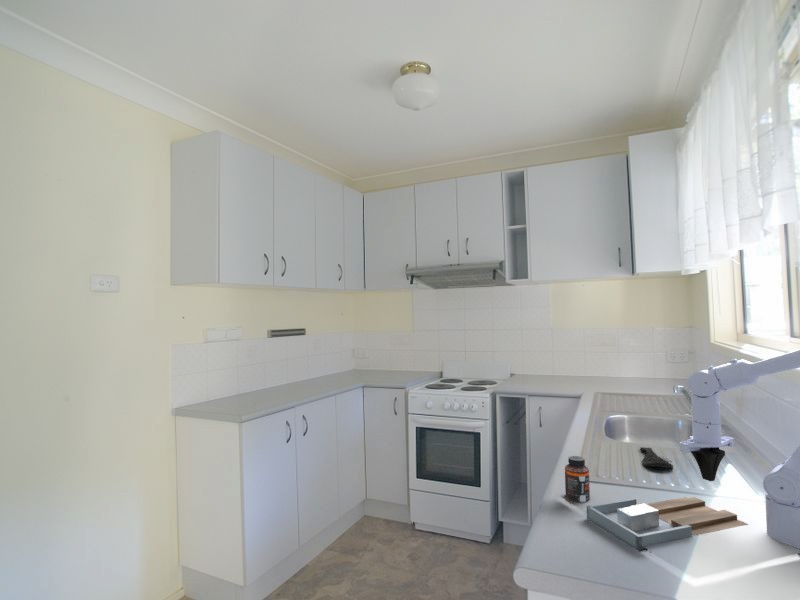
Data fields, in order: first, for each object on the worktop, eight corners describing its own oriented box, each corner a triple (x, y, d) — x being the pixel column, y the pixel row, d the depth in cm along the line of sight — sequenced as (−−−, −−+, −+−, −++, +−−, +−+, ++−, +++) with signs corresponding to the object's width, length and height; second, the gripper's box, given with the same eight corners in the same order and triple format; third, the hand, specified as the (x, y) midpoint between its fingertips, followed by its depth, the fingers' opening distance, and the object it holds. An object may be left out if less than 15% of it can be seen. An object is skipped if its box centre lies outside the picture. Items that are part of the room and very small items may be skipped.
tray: (691, 540, 99) (691, 526, 99) (639, 551, 95) (638, 536, 95) (634, 510, 114) (633, 498, 114) (586, 518, 110) (586, 506, 110)
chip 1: (645, 531, 102) (645, 513, 103) (631, 534, 101) (630, 516, 101) (631, 523, 106) (631, 506, 106) (617, 526, 105) (617, 508, 105)
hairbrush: (656, 442, 163) (677, 461, 139) (657, 452, 162) (677, 473, 138) (630, 441, 165) (646, 459, 141) (631, 451, 165) (647, 471, 141)
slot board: (748, 528, 104) (747, 519, 104) (693, 540, 99) (692, 530, 99) (685, 501, 119) (685, 493, 119) (635, 509, 114) (635, 501, 114)
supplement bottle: (590, 507, 116) (589, 462, 117) (565, 504, 118) (564, 460, 119) (589, 498, 122) (588, 455, 122) (565, 495, 124) (564, 453, 124)
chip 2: (659, 528, 104) (658, 510, 104) (644, 531, 103) (644, 513, 103) (645, 520, 108) (644, 503, 108) (631, 523, 107) (630, 505, 107)
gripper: (713, 415, 115) (715, 470, 114) (667, 420, 111) (669, 477, 110) (741, 421, 108) (744, 480, 108) (694, 427, 104) (696, 488, 103)
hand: (708, 479), depth 108 cm, fingers closed
